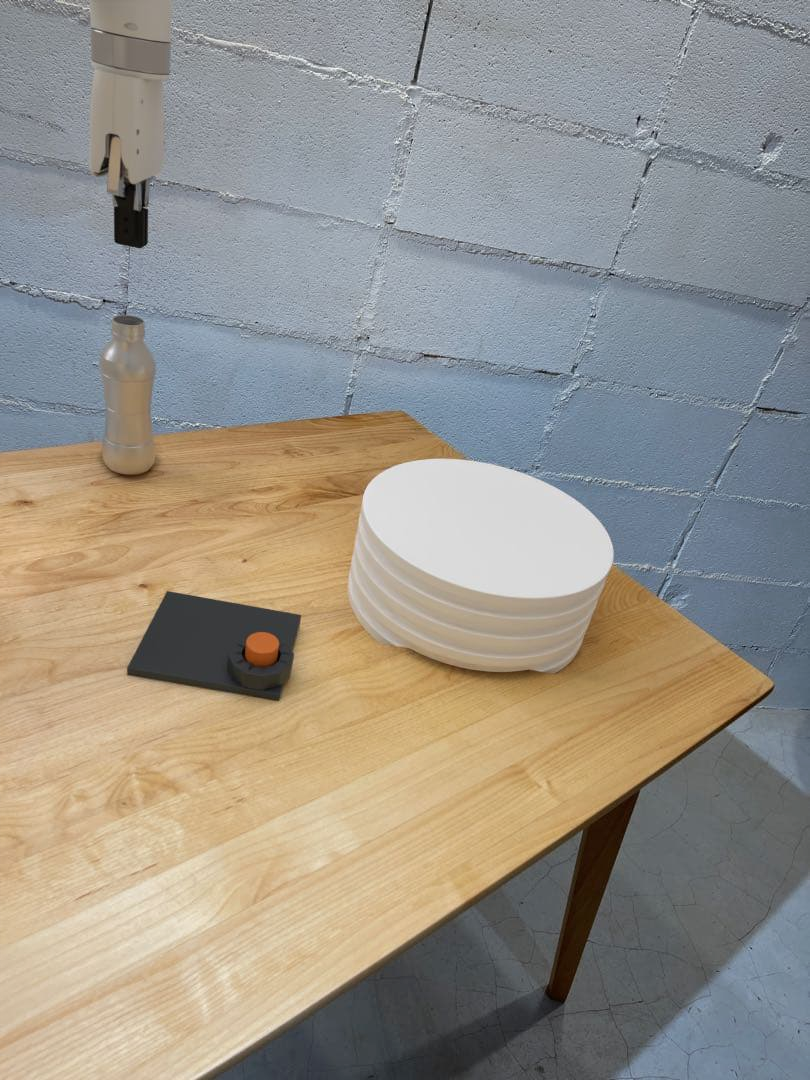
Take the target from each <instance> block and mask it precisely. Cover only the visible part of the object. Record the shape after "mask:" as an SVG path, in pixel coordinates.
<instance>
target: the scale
mask: <svg viewBox="0 0 810 1080" xmlns="http://www.w3.org/2000/svg"><path fill="white" fill-rule="evenodd" d="M301 621H302V614H299V613H293V612H287V611H281V610H276V609H270V608H265V607H260V606H254V605H248V604H242V603H237V602H232V601H226V600H220V599H219V600H218V599H214V598H209V597H204V596H199V595H192V594H186V593H181V592H176V591H171V590H166V592H165V593H164V595H163V598H162V599H161V601H160V604H159V606H158V608H157V609H156V611H155V614H154V615H153V617H152V619H151V620H150V623H149V625H148V626H147V629H146V631H145V633H144V634H143V637H142V638H141V640H140V643H139V644H138V646H137V647H136V651H135V652H134V653H133V656H132V658H131V660H130V661H129V663H128V665H127V667H126V676H131V677H138V678H143V679H148V680H154V681H160V682H164V683H165V682H166V683H171V684H176V685H184V686H189V687H195V688H200V689H206V690H211V691H217V692H223V693H228V694H235V695H241V696H246V697H251V698H257V699H263V700H270V701H275V702H280V700H281V697H282V694H283V688H284V686H285V683H286V682H287V681H288V680H289V679H290V677H291V674H292V670H293V666H294V658H295V653H294V647H295V644H296V640H297V636H298V631H299V630H300V626H301ZM257 632H266V633H270V634H272V635H274V636H275V637H276V638H277V639H278V641H279V649H278V657H277V660H276V662H275V663H274V664H272V665H271V666H266V667H259V666H253V665H251V664H250V663H248V662H247V660H246V658H245V649H246V641H247V638H248V637H249V636H250V635H252V634H254V633H257Z"/></svg>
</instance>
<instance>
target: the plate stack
mask: <svg viewBox="0 0 810 1080" xmlns="http://www.w3.org/2000/svg"><path fill="white" fill-rule="evenodd" d="M360 506H361V507H360V513H359V517H358V523H357V532H356V535H355V539H354V544H353V552H352V556H351V562H350V568H349V573H348V579H347V586H346V589H347V590H346V592H347V598H348V602H349V605H350V607H351V610H352V612H353V614H354V616H355V618H356V620H357V621H358V622H359V624H360V625H361V627H362V628H363V629H364V630H365V632H367V633H368V634H369V636H370V637H372V639H374V641H376V642H377V643H379V644H383V645H390V646H394V647H395V646H396V647H401V648H406V649H410V650H411V651H414V652H416V653H418V654H420V655H423V656H425V657H427V658H429V659H432V660H435V661H438V662H441V663H443V664H448V665H451V666H454V667H458V668H461V669H468V670H473V671H482V672H490V673H491V672H493V673H507V672H508V673H510V672H521V671H527V670H529V671H534V672H539V673H547V674H552V675H555V674H557V673H558V672H560V671H562V670H563V669H564V668H565V667H567V666H568V665H570V663H571V662H572V661H573V660H574V659H575V657H576V656H577V655H578V653H579V651H580V648H581V646H582V644H583V641H584V638H585V635H586V632H587V631H588V628H589V626H590V623H591V621H592V617H593V615H594V612H595V610H596V607H597V605H598V602H599V598H600V596H601V594H602V592H603V590H604V587H605V584H606V580H607V578H608V576H609V574H610V571H611V569H612V566H613V563H614V555H615V553H614V552H615V551H614V546H613V542H612V540H611V537H610V535H609V533H608V531H607V529H606V528H605V526H604V525H603V524H602V523H601V521H600V520H599V518H597V517H596V515H594V513H592V512H591V511H590V510H589V508H587V507H586V506H585V505H583V504H582V503H581V502H579V500H576V499H575V498H574V497H572V496H571V495H569V494H567V493H566V492H564V491H562V490H561V489H559V488H557V487H556V486H554V485H552V484H550V483H548V482H545V481H543V480H541V479H539V478H537V477H534V476H532V475H529V474H526V473H523V472H521V471H518V470H514V469H511V468H508V467H504V466H500V465H497V464H493V463H488V462H483V461H482V462H481V461H476V460H469V459H462V458H461V459H459V458H425V459H418V460H412V461H406V462H402V463H399V464H396V465H394V466H391V467H389V468H387V469H385V470H383V471H381V472H380V473H379V474H376V475H375V477H373V478H372V479H371V481H370V482H369V483H368V484H367V486H366V488H365V490H364V492H363V496H362V500H361V505H360Z"/></svg>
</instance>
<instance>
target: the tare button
mask: <svg viewBox="0 0 810 1080" xmlns="http://www.w3.org/2000/svg"><path fill="white" fill-rule="evenodd" d="M278 649H279V641H278V639H277V638H276V637H275V636H274V635H272V634H270V633H266V632H257V633H254V634H252V635H250V636H249V637H248V638H247V641H246V649H245V658H246V660H247V662H248V663H250V664H251V665H253V666H259V667H266V666H271V665H272V664H274V663H275V662H276V660H277V657H278Z"/></svg>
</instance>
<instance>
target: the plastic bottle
mask: <svg viewBox="0 0 810 1080" xmlns="http://www.w3.org/2000/svg"><path fill="white" fill-rule="evenodd" d="M145 330H146V323H145V320H144V319H143V318H141V317H139V316H135V315H130V314H119V315H118V314H117V315H114V316H112V318H111V328H110V335H111V336H112V339H111V340H110V341H109V342H108V343H107V344H105V345H106V346H105V347H104V348H103V349H102V351H101V353H100V357H99V369H100V374H101V381H102V385H103V391H104V392H103V393H104V401H105V419H104V433H103V437H102V441H101V448H100V451H101V455H102V459H103V463H104V464H105V465H106V467H108V469H109V470H111V471H112V472H114V473H117V474H121V475H128V476H131V475H132V476H134V475H141V474H144V473H146V472H148V471H149V470H150V469H151V468H152V467H153V466H154V463H155V460H156V459H155V458H156V454H157V451H156V443H155V439H154V436H153V425H152V399H153V388H154V382H155V378H156V377H155V376H156V371H157V363H156V360H155V357H154V354H153V353H152V351H151V350H150V348H149V346H148V345H147V344H146V342H145V341H144V339H146V331H145Z"/></svg>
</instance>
